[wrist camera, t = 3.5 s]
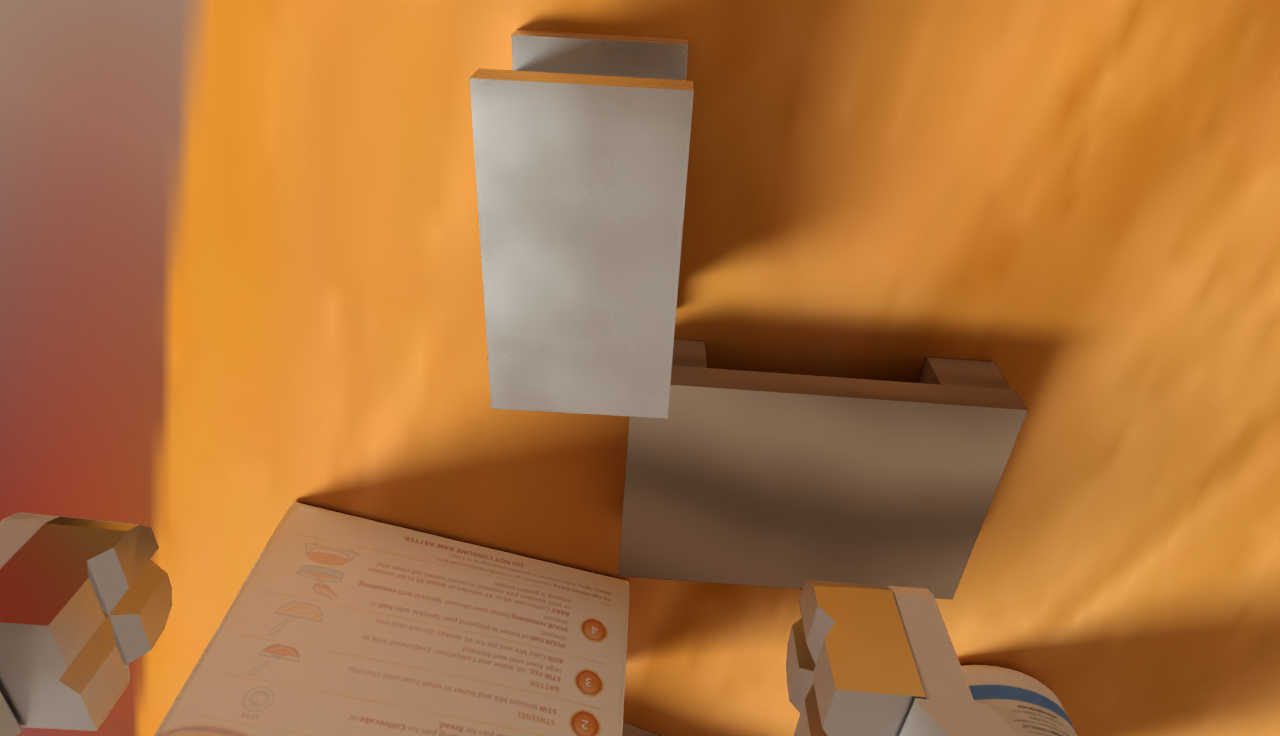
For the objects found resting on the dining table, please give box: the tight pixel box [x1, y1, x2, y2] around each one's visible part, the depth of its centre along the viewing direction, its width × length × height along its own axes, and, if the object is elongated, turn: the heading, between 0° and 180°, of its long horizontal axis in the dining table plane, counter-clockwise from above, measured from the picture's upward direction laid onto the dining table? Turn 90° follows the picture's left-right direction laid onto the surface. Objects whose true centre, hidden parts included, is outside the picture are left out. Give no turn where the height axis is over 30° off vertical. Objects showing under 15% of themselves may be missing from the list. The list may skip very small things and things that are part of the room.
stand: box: [618, 339, 1028, 599], centre depth 29 cm, size 9×13×3 cm
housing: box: [470, 29, 694, 419], centre depth 23 cm, size 9×5×6 cm, turn 177°
